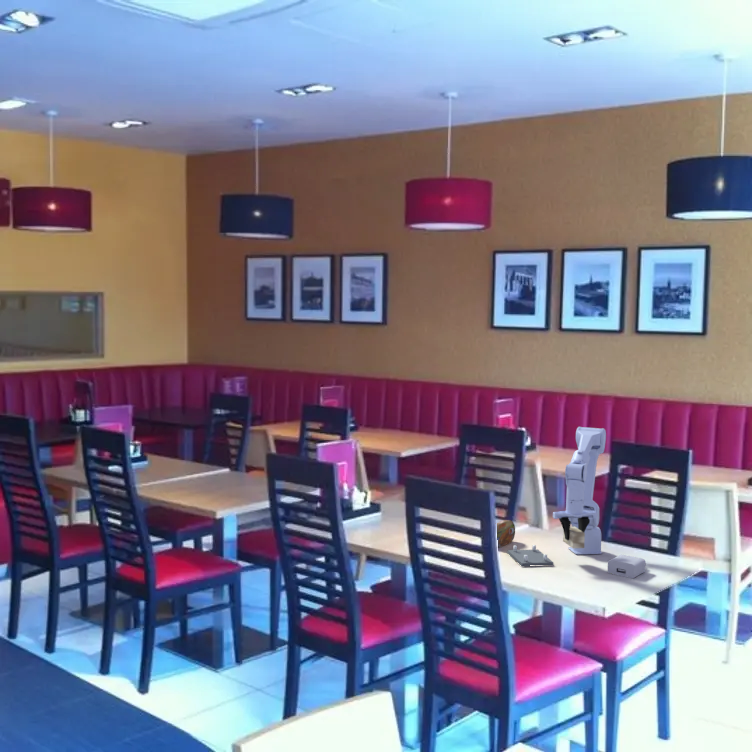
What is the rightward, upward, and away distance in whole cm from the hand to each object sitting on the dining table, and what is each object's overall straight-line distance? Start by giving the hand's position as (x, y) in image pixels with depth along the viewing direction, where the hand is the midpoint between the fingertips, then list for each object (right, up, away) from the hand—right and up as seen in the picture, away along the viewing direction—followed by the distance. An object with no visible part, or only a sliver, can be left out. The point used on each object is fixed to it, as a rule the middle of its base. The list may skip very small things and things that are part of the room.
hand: (573, 539), depth 311 cm
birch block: (0, -2, 0) cm, 2 cm away
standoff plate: (-14, -8, +5) cm, 17 cm away
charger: (+17, -10, -6) cm, 21 cm away
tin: (-21, -6, +24) cm, 32 cm away
